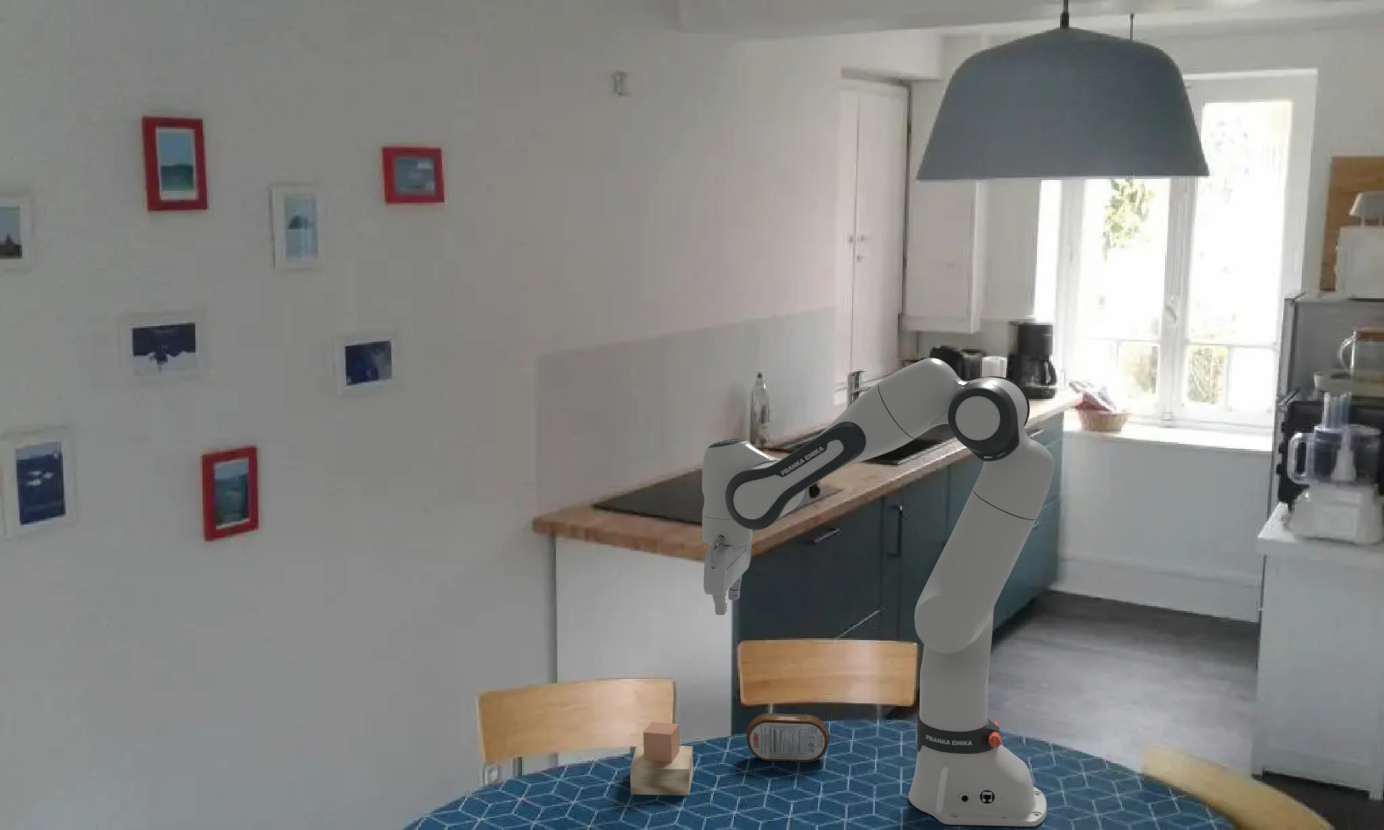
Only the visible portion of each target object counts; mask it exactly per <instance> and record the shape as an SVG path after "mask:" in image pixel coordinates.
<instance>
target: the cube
mask: <svg viewBox="0 0 1384 830" xmlns="http://www.w3.org/2000/svg"><path fill="white" fill-rule="evenodd" d="M642 741H643V745H644V760H649V761H660V762H671V763H672V762H673V760H674V759H675V757H676V756H677V754H678V753H679V752H680V746H681V745H680V724H679V723H671V722H670V723H669V722H658V721H657V722H656V721H651V722H650V723H649V724H648V725H647V727H646V728H645V729H644V731H643V740H642Z"/></svg>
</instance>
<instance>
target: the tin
mask: <svg viewBox="0 0 1384 830" xmlns="http://www.w3.org/2000/svg"><path fill="white" fill-rule="evenodd" d="M745 734H746V744H747V748H748V749H749V751H750V752H751V754H752V755H754V756H755V757H756V758H758V759H760V760H763V761H767V762H787V761H790V762H791V763H793V762H794V763H812V762H816V761H818V760H820V759H821V758H822V757H824V755H825V753H826V752H827V750H828V747H829V745H830V744H829V743H830V732H829V728H828V726H827V725H826V724H825V722H824V721H822V720H821V719H820V718H818V717H816V716H814V715H811V714H792V713H791V714H789V713H788V714H787V713H774V712H773V713H768V712H767V713H762V714H758V715H757V716H756V717H754V718H753V719H751V721H750V722H749V724H748V725H747V728H746V732H745Z"/></svg>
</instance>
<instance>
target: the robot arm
mask: <svg viewBox="0 0 1384 830" xmlns="http://www.w3.org/2000/svg"><path fill="white" fill-rule="evenodd" d="M1030 412H1031V406H1030V401H1029V397H1028V395H1027V393H1026V391H1025V390H1024V388H1023V387H1022V386H1021V385H1020V384H1018V383H1017V382H1016V381H1014V380H1013V379H1011V378H1007V377H1004V376H1000V375H999V376H997V375H992V376H991V375H990V376H974V377H973V376H972V377H966V378H965V379H963V380H962V379H961V377H959V375H957V373H956V371H955V370H954V369H953V368H952V367H951V366H950V365H949V364H948V363H946V361H944V360H941V359H940V358H935V357H928V358H924V359H922V360H919V361H917V362H914V363H911V364H909V365H907V366H906V367H903V368H901V369H899V370H897V371H895V372H893V373H891V374H890V375H888V376H886V377H885V378H883V379H882V380H881V381H879V382H877V383H875V384H874V385H873V386H871V387H870V388H868V389H867V390H866V391H864V393H862V394H861V395H860V396H858V398H856V399H855V400H854V401H853V402H852V403H851V404H850V405H848V407H847V408H846V409H845V410H844V411H843V412H842V413H841V414H839V415H838V416H837V418H835V419H834V421H832V422H831V423H830V424H829V425H828V426H827V427H826V428H825V429H824V430H822V432H821V433H819V434H818V435H817V436H816V437H815V438H813V439H812V440H810V441H808V442H807V443H805V444H804V445H802V446H801V447H799V448H798V449H796V450H794V451H792V452H791V453H790V454H788V455H786V456H785V457H783V458H778V457H775V456H772V455H770V454H768V453H765V452H764V451H761V450H760V449H758V448H757V447H755V446H754V445H753V444H752V443H751V442H750V441H749V440H747V439H745V438H731V439H725V440H721V441H717V442H714V443H712V444H710V445H709V446H708V447H707V448H706V449H705V451H704V456H703V461H702V462H703V463H702V470H701V471H702V473H701V475H702V476H701V484H702V485H701V492H702V495H703V499H704V500H703V501H704V503H703V508H702V511H701V514H702V516H701V522H702V523H701V525H702V526H701V527H702V528H701V529H702V530H701V531H702V533H701V534H702V537H701V538H702V541H703V542H704V543H706V544H709V548H708V549H707V550H706V552H705V554H704V555H705V556H704V563H703V564H704V565H703V591H704V594H706V595H712V600H713V604H714V613H715V615H716V616H717V615H718V616H724V615H725V614H726V613H727V612H728V603H727V602H726V601H727V600H726V599H727V598H726V596H727V594H728V596H727V597H728V600H729V601H737V600H738V599H739V598H740V595H741V585H742V579H743V575H744V573H745V572H746V571H747V570H748V569H749V567H750V563H751V559H752V543H753V534H754V533H755V531H759V530H760V531H761V530H763V529H767V528H769V527H770V526H772V524H774V523H775V522H776V521H778V520H779V519H780V518H782V517H784V516H785V515H787V514H788V513H790V512H791V511H793V510H795V509H796V508H797V507H798V506H799V505H800V504H801V503H802V502H803V500H804V498H805V496H806V493H807V492H806V491H807V489H808V488H809V489H810V487H812V486H814V485H815V484H816V483H818V482H820V481H821V480H823V479H825V478H826V477H828V476H829V475H831V474H833V473H835V472H837V471H839V470H841V469H844V468H846V467H849V466H851V465H854V464H857V463H860V462H865V461H867V460H870V459H873V458H876V457H880V456H881V455H885V454H888V453H890V452H893V451H894V450H897V449H899V448H901V447H903V446H905V445H907V444H908V443H910V442H912V441H914V440H915V439H917V438H918V437H921V435H923V434H925V433H926V432H928V431H929V430H931V429H933V428H935V427H937V426H940V425H948V427H949V429H950V431H951V433H952V435H953V436H954V437H955V438H956V439H957V441H959V443H961V445H963V446H964V447H965V448H966V449H968V450H969V451H970V452H972V454H973V455H974V456H975V457H977V458H978V460H980V461H982V462H983V464H982V467H981V471H980V473H979V475H978V478H977V479H976V481H975V483H974V486H973V488H972V489H971V491H970V492H971V493H970V494H969V496H968V498H967V500H966V503H965V504H964V506H963V509H962V511H961V513H960V516H959V518H958V519H957V522H956V524H955V526H954V528H953V530H952V532H951V534H950V536H949V538H948V539H947V542H946V544H945V546H944V547H943V549H942V552H941V554H940V555H939V557H938V559H937V562H936V564H935V566H934V567H933V569H932V571H931V573H930V576H929V577H928V580H927V581H926V582H925V583H926V584H925V585H924V588H923V590H922V592H921V594H920V595H919V597H918V600H917V602H916V606H915V609H914V627H915V628H914V629H915V632H916V634H917V636H918V638H919V639H920V641H921V643H923V653H922V661H921V665H920V670H919V671H920V672H919V674H920V675H919V677H920V680H919V714H918V715H917V719H916V723H915V745H916V751H917V753H916V754H917V756H916V764H915V769H914V775H913V779H912V783H911V786H910V790H909V792H908V800H909V802H910V803H911V804H912V805H913V806H914V807H915V808H916V809H918V810H919V811H921V812H923V813H927V815H930V816H933V817H934V818H935V819H936V820H938V822H940V823H941V824H944V825H953V826H954V825H957V826H959V825H961V826H965V825H966V826H992V827H993V826H995V827H997V826H998V827H1000V826H1002V827H1037V826H1039V825H1040V824H1041V823H1043V822H1044V821H1045V819H1046V817H1047V813H1048V804H1047V798H1046V796H1045V795H1044V793H1043V792H1042V791H1041V790H1040V788H1039V789H1038V788H1037V787H1035V786H1034V784H1033V778H1032V775H1031V772H1030V769H1029V767H1028V765H1027V764H1026V763H1025V761H1023V760H1022V759H1021V758H1019V757H1018V756H1017V755H1015V754H1014V753H1013V752H1011V751H1010V750H1009V749H1008V748H1007V747H1005V746H1004V745H1003V744H1002V736H1001V733H1000V731H1001V730H1000V727H999V722H998V721H997V720H994V722H993V721H992V720H990V718H988V702H989V701H988V698H989V697H988V696H989V671H990V670H989V669H990V663H991V662H990V661H991V651H992V640H993V639H992V638H993V629H994V628H993V626H994V612H995V611H994V610H995V606H996V604H997V601H998V599H999V597H1000V595H1001V593H1002V591H1003V589H1004V588H1005V584H1006V583H1007V582H1008V579H1009V577H1010V575H1011V573H1012V571H1013V569H1014V567H1015V565H1016V562H1017V560H1018V559H1019V558H1020V557H1019V556H1020V555H1021V553H1022V551H1023V548H1024V547H1025V544H1026V542H1027V540H1028V539H1029V535H1030V534H1031V532H1032V531H1033V528H1034V526H1035V523H1036V521H1037V520H1038V517H1039V515H1040V513H1041V511H1042V509H1043V506H1044V504H1045V502H1046V498H1047V496H1048V493H1049V491H1050V487H1051V484H1052V480H1053V476H1054V472H1055V465H1056V463H1055V460H1054V456H1053V455H1052V453H1051V452H1050V451H1049V450H1048V448H1046V447H1045V446H1044V445H1043V444H1041V443H1040V442H1039V441H1036V440H1034V439H1032V438H1031V437H1030V436H1028V434H1027V432H1026V430H1025V427H1026V425H1027V423H1028V421H1029V418H1030Z"/></svg>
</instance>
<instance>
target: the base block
mask: <svg viewBox="0 0 1384 830" xmlns="http://www.w3.org/2000/svg"><path fill="white" fill-rule="evenodd" d="M693 754H694V748H693V745H680V752H679V753H678V754H677V756H676V757H675V759H674V760H673V762H672V763H671V762H660V761H649V760H644V744H642V745H641V744H639V745H638V744H637V745H636V746H635V751H634V753H633V757H632V761H631V763H630V768H629V770H630V777H629V778H630V795H642V796H643V795H647V796H649V795H653V796H690V793H691V787H692V780H693V779H692V778H693V774H694V755H693Z"/></svg>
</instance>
